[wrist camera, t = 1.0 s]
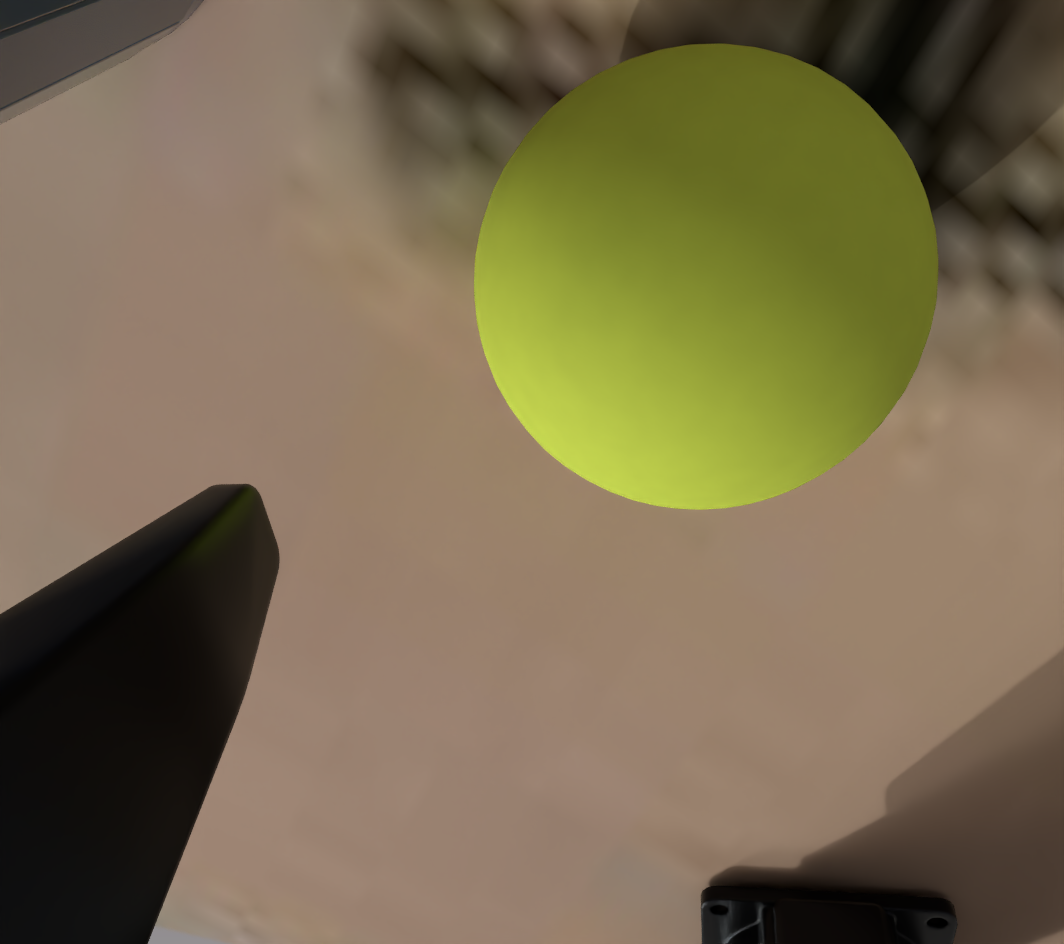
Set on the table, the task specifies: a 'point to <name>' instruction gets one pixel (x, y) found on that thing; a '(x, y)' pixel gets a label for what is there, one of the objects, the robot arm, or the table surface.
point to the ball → (706, 276)
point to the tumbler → (74, 43)
